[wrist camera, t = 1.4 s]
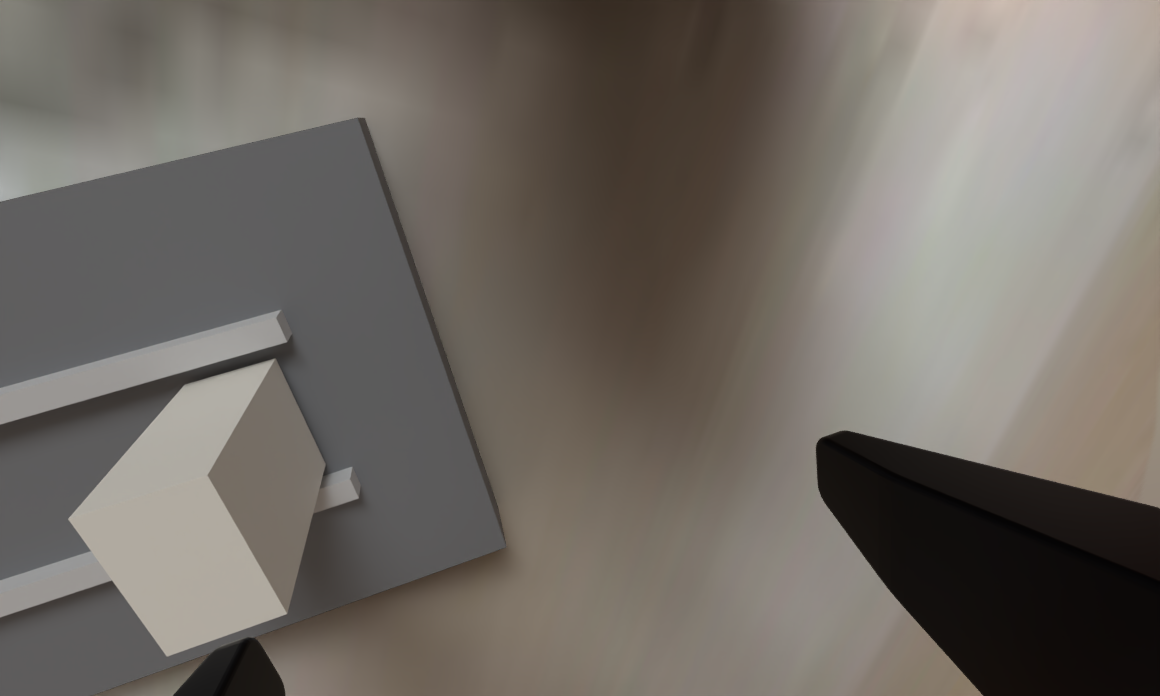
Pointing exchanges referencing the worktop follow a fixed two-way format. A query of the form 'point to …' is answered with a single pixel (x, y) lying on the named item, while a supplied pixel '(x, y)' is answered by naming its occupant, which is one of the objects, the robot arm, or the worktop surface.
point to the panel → (208, 348)
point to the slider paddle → (209, 509)
